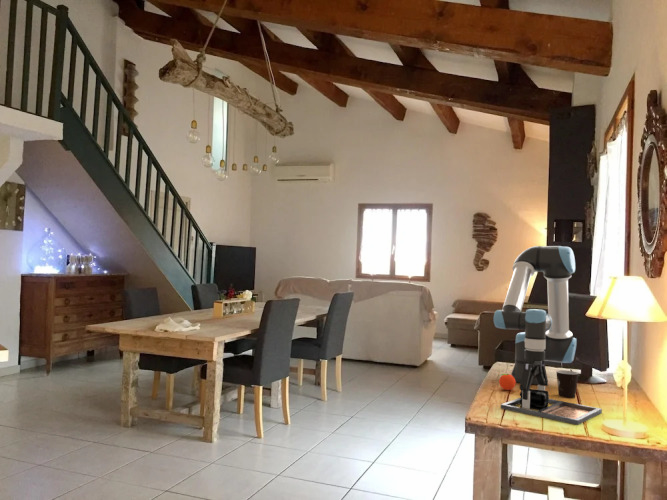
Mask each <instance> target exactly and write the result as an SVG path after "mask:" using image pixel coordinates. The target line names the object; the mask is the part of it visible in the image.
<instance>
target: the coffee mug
mask: <svg viewBox="0 0 667 500" xmlns="http://www.w3.org/2000/svg"><path fill="white" fill-rule="evenodd" d="M578 378H579V372H576V371H573V370H564V369H563V370H561V369H560V370H556V381H557V393H558V396H559V397H561V398H566V399H574V398H576V393H577V386H578Z"/></svg>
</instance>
